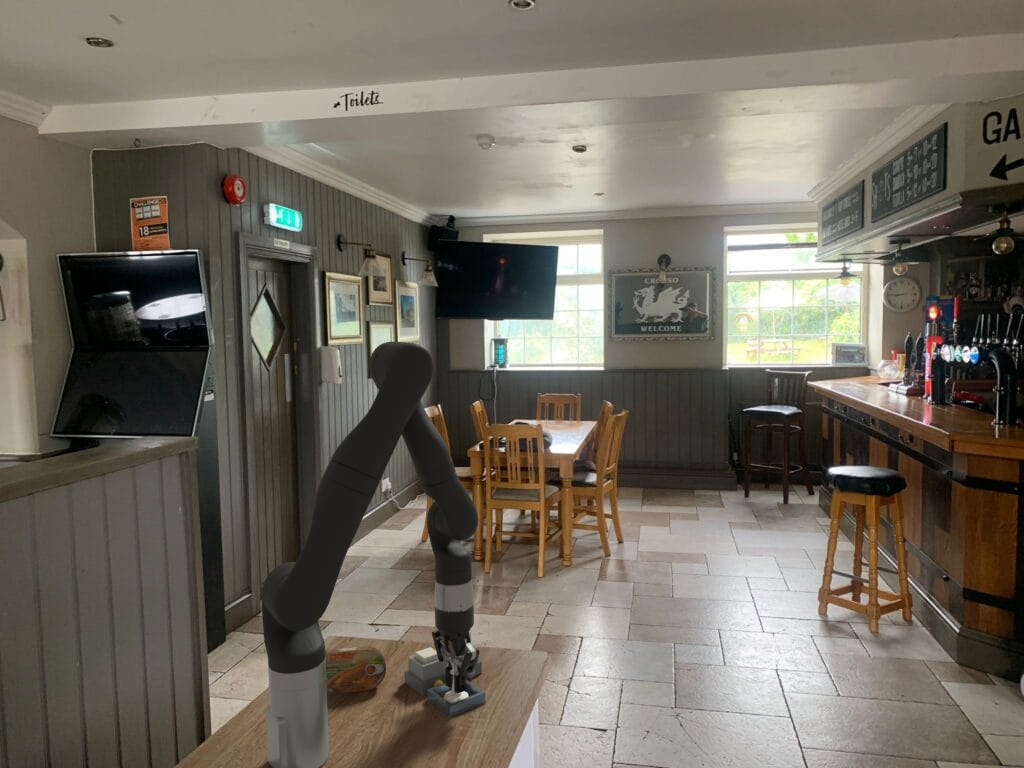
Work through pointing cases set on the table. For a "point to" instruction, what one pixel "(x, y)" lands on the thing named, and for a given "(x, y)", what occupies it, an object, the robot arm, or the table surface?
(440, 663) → the yellow-knobbed grey box
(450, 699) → the chess piece
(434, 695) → the frame
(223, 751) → the table surface
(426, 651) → the white square block
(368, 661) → the tin
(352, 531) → the robot arm
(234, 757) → the table surface
